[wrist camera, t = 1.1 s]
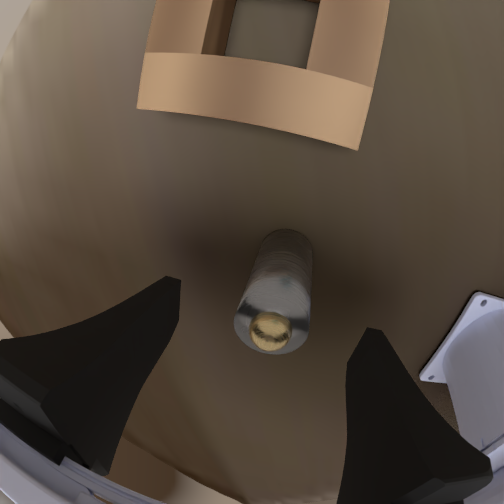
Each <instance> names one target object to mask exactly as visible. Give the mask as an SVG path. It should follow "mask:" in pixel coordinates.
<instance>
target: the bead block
mask: <svg viewBox="0 0 504 504" xmlns="http://www.w3.org/2000/svg"><path fill="white" fill-rule="evenodd" d="M305 1H311V2H316V3H320V6H319V11H318V16H317V20H316V25H315V30H314V35H313V40H312V44H311V49H310V54H309V58H308V63H307V68H306V69H301V68H297V67H292V66H287V65H282V64H276V63H271V62H265V61H258V60H251V59H244V58H236V57H227V56H224V54H225V49H226V44H227V40H228V35H229V30H230V26H231V21H232V17H233V12H234V8H235V4H236V0H156V4H155V8H154V12H153V17H152V21H151V26H150V30H149V35H148V40H147V45H146V50H145V56H144V62H143V67H142V74H141V80H140V87H139V94H138V102H137V109H147V110H158V111H168V112H177V113H185V114H193V115H200V116H207V117H214V118H220V119H226V120H232V121H238V122H243V123H249V124H254V125H259V126H264V127H269V128H273V129H278V130H282V131H287V132H291V133H295V134H299V135H303V136H307V137H311V138H315V139H319V140H323V141H327V142H330V143H334V144H337V145H341V146H344V147H348V148H351V149H354V150H358V147H359V144H360V140H361V136H362V132H363V128H364V124H365V120H366V116H367V112H368V108H369V104H370V100H371V95H372V91H373V87H374V82H375V78H376V73H377V68H378V63H379V59H380V54H381V48H382V43H383V38H384V32H385V27H386V21H387V15H388V9H389V2H390V0H305Z"/></svg>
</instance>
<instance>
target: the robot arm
mask: <svg viewBox="0 0 504 504" xmlns="http://www.w3.org/2000/svg"><path fill="white" fill-rule="evenodd" d="M180 288H181V280H179V279H175V278H172V277H168V276H165V277H163V278H162V279H160V280H158V281H157V282H155V283H153V284H152V285H150V286H149V287H147V288H145V289H144V290H142V291H140V292H139V293H137V294H135V295H134V296H132V297H130V298H129V299H127V300H125V301H123V302H122V303H120V304H118V305H116V306H114V307H112V308H110V309H108V310H106V311H104V312H102V313H100V314H98V315H96V316H94V317H91V318H89V319H86V320H84V321H81V322H79V323H76V324H73V325H70V326H67V327H63V328H60V329H57V330H54V331H50V332H46V333H41V334H37V335H32V336H26V337H18V338H11V339H2V340H1V341H0V490H1V491H2V492H3V493H4V494H6V495H7V496H8V497H9V498H10V499H11V500H12V501H13V502H14V503H16V504H106V503H104V502H102V501H100V500H98V499H97V498H95V496H94V494H95V495H97V496H99V497H101V498H103V499H106V500H107V501H109V502H112V503H114V504H165V503H163V502H160V501H157V500H155V499H152V498H149V497H147V496H144V495H142V494H139V493H137V492H134V491H132V490H130V489H127V488H125V487H123V486H121V485H118V484H116V483H114V482H112V481H110V480H108V479H106V478H104V477H102V476H105V475H108V474H109V471H110V468H111V464H112V461H113V458H114V455H115V452H116V448H117V446H118V443H119V440H120V438H121V435H122V432H123V430H124V427H125V425H126V422H127V420H128V417H129V415H130V412H131V410H132V408H133V405H134V403H135V401H136V399H137V396H138V394H139V392H140V390H141V388H142V386H143V384H144V383H145V381H146V379H147V378H148V376H149V374H150V373H151V371H152V369H153V368H154V366H155V364H156V363H157V361H158V360H159V358H160V356H161V355H162V353H163V351H164V350H165V348H166V346H167V345H168V343H169V341H170V339H171V337H172V335H173V333H174V330H175V328H176V326H177V323H178V321H179V307H180ZM483 300H484V301H483ZM482 301H483V302H482ZM481 302H482V303H481ZM419 377H420V380H422V381H429V382H438V383H447V385H448V389H449V392H450V396H451V399H452V403H453V407H454V411H455V414H456V418H457V423H458V427H459V431H460V434H458V433H457V432H456V431H455V430H454V429H453V428H452V427H451V426H450V425H449V424H448V423H447V422H446V421H445V420H444V419H443V417H442V416H441V415H440V414H439V413H438V412H437V411H436V410H435V408H434V407H433V406H432V405H431V403H430V402H429V401H428V400H427V398H426V397H425V396H424V395H423V393H422V392H421V390H420V389H419V388H418V386H417V385H416V383H415V382H414V380H413V379H412V377H411V376H410V374H409V373H408V371H407V370H406V368H405V367H404V365H403V363H402V362H401V360H400V359H399V357H398V355H397V354H396V352H395V351H394V349H393V347H392V346H391V344H390V343H389V341H388V339H387V338H386V336H385V335H384V333H383V332H382V330H378V329H373V328H368V327H367V329H366V331H365V333H364V334H363V336H362V338H361V340H360V341H359V343H358V345H357V347H356V348H355V350H354V352H353V354H352V355H351V357H350V359H349V360H348V362H347V371H346V385H345V386H346V411H347V447H346V455H345V463H344V470H343V476H342V481H341V486H340V491H339V495H338V500H337V504H504V299H502V298H498V297H495V296H492V295H489V294H485V293H482V292H477V293H475V294H474V295H473V296H472V297H471V299H470V301H469V302H468V304H467V306H466V307H465V309H464V311H463V312H462V314H461V315H460V317H459V319H458V320H457V322H456V323H455V325H454V326H453V328H452V329H451V331H450V332H449V334H448V335H447V337H446V338H445V340H444V341H443V343H442V344H441V346H440V347H439V348H438V350H437V351H436V353H435V354H434V355H433V357H432V358H431V359H430V361H429V362H428V363H427V365H426V366H425V367H424V369H423V370H422V371H421V372H420V374H419Z"/></svg>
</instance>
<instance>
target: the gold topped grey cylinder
mask: <svg viewBox="0 0 504 504" xmlns="http://www.w3.org/2000/svg"><path fill="white" fill-rule="evenodd" d="M312 258H313V252H312V247H311V244H310V242H309V241H308V239H307V238H306V237H305V236H304V235H302V234H301V233H299V232H297V231H294V230H290V229H280V230H276V231H274V232H272V233H270V234H269V235H268V236H267V237H266V238H265V239H264V240H263V242H262V245H261V247H260V250H259V253H258V255H257V258H256V261H255V263H254V266H253V269H252V272H251V274H250V277H249V280H248V282H247V285H246V288H245V290H244V293H243V296H242V298H241V301H240V304H239V306H238V309H237V312H236V314H235V318H234V328H235V331H236V333H237V335H238V337H239V338H240V339H241V340H242V341H243V342H244V343H245V344H246V345H247V346H249V347H250V348H252V349H254V350H256V351H259V352H262V353H266V354H285V353H289V352H291V351H294V350H296V349H297V348H299V347H300V346H301V345H302V344H303V343H304V342H305V341H306V339H307V337H308V334H309V324H310V306H311V286H312Z"/></svg>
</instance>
